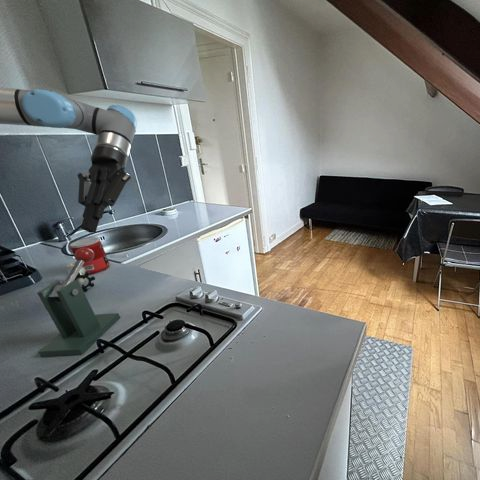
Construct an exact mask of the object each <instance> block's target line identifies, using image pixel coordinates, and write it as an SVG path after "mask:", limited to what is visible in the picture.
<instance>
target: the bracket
mask: <svg viewBox="0 0 480 480" xmlns="http://www.w3.org/2000/svg"><path fill="white" fill-rule="evenodd" d="M62 284H63V282H61V280H57V281H56V280H55V281H54V282H52V283H51V284H49V285H47V286H46V287H44V288H42V289H41V290H39V291H37V292H36V294H37V295H38V297H39V299H40V301H41V303H42V304H43V306H44V308H45V309H46V311H47V313H48V315H49V316H50V319H51V321H52V322H53V323H54V325H55V327H56V329H57V330H58V332H59V334H58V335H57V336H55V337H54V338H53V339H52V340H51V341H49V342H48V343H47V344H46V345H45V346H43V347H42V348H41V349H40V350H38V351H37V353H38V354H39V356H40V357H41V358H45V357H61V356H76V355H77V356H78V355H79V356H80V355H83V354H85V353H86V351H88V350H89V349H90V348H91V347H92V346H93V345H94V344H95V343H96V342H97V341H98V340H99V339H100V338H101V337H102V336H103V335H104V334H105V333H106V332H107V331H108V330H109V329H111V328H112V326H114V325H115V323H117V322H118V321H119V320H120V319H121V316H120V314H119V313H118V312H115V313H114V312H113V313H101V314H99V313H98V314H97V313H95V312H94V310H93V308H92V306H91V304H90V302H89V300H88V297H87V296H86V294H85V293H86V292H84V291H83V289H82V285H80V283H79V281H78V280H74V281H72V282H70V283H69V284H67V285H66V286H64V287H62V288H61V289H59V290H58V291H56V292H57V294H58V296H59V298H60V300H61V301H56V300H54V299H52V298H50V297H49V296H50V294H51V292H52V291H53V289H54V288H55V286H56V285H62Z"/></svg>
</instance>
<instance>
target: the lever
mask: <svg viewBox="0 0 480 480" xmlns="http://www.w3.org/2000/svg"><path fill="white" fill-rule="evenodd" d="M73 256H74V259H75V260H76V261H75V262H76V263H75V265H74V267H73V268H72V270H71V271H70V273H69V274H68V275H67V276H66V278H65V279H64V281H63V282H62V285H56V286H55V288H54V289H53V291H52V292H51V294H50V296H49V297H50V298H52V299H54V300H56V301H61V300H60V298H59V296H58V294H57V292H56V291H58V290H59V289H61V288H62V287H64V286H66V285H67V284H69V283H70V282H72V281H74V279H75V278H76V276H77V274H78V273H79V271H80V269H81V268H82V266H83V264H84V263H86V262H90V261H91V260H92V259H93V258H94V252H93V251H92V250H91V249H89V248H81V249H78V250H77V251H76V252H75V255H74V254H73Z"/></svg>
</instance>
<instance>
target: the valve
mask: <svg viewBox="0 0 480 480" xmlns="http://www.w3.org/2000/svg"><path fill="white" fill-rule="evenodd" d="M76 262H77V261H72V262H69V263H67V264H66V266H65V267H66V268H67V270H68V273H67V274H68V275H69V273H70V271H71V270H72V268H73V267H74V265H75V263H76ZM74 280H78V281H79V283H80V285H81V287H82V289H83V291H84V293H87V292H88V288H89V287H90V288H93V287H95V283H94V281H95V280H96V277H95V276H94V275H93V276H91V277H90V274H89V272H86V270H85V269H84V268H83V267H82V268H81V269H80V271H79V273H78V274H77V276H76V278H75V279H74ZM87 281H88V282H87ZM92 281H93V282H92ZM86 282H87V283H86ZM85 283H86V285H85Z"/></svg>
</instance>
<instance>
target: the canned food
mask: <svg viewBox="0 0 480 480" xmlns="http://www.w3.org/2000/svg"><path fill="white" fill-rule="evenodd" d="M69 248H70V250H71V252H72V254H73V256H74V255H75V252H76V251H77V250H78V249H81V248H89V249H91V250H92V251H93V252H94V258H93V259H92V260H91V261H90V262H86V263H84V264H83V266H82V267H83V268H84V269H85V270H86V272H89V275H93V274H98V273H101V272H103V271H106V270H107V269H108V268H110V266H111V265H110V264H111V263H110V261H109V258H108V256H107V254H106V251H105V249H104V246H103V244H102V241H101V239H100V238H99V237H95V236H94V237H86V238H82V239H77V240H76V241H73V242H72V243H70V244H69Z"/></svg>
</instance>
